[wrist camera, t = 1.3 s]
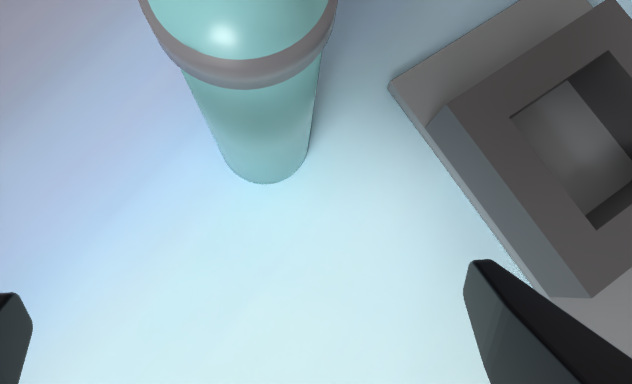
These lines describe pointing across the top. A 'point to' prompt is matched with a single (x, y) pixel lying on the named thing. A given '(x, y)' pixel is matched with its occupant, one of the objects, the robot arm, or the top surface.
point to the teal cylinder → (249, 73)
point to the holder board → (543, 146)
